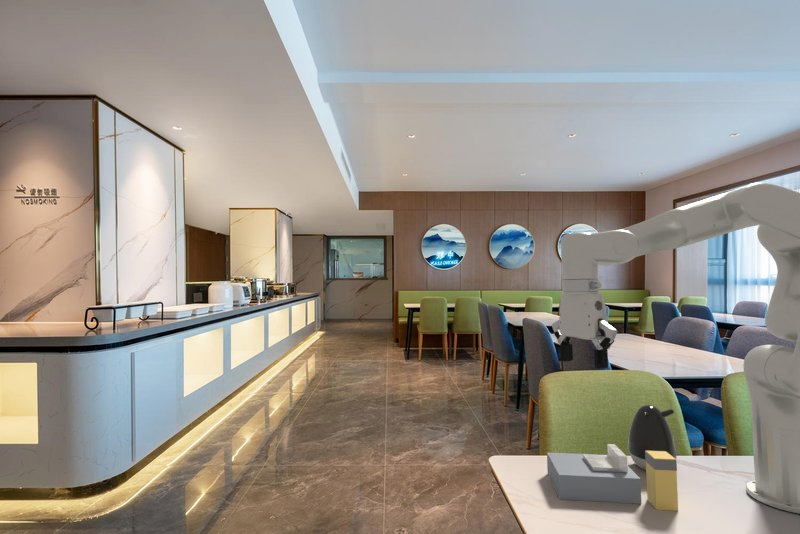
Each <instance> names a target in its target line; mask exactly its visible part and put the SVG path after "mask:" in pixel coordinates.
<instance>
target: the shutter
mask: <svg viewBox="0 0 800 534" xmlns="http://www.w3.org/2000/svg"><path fill="white" fill-rule="evenodd" d="M606 444H607V445H606V447H607V454H596V455H592V453H582V454H583V458H584V460H585V461H586V462H587V464H588V465H589V466H590V468H591V469H592V470H593V471H606V472H628V468H627V465H628V456H627V455H626V454H625V453H624V452H623V451H622V449H620V448H619V447H618V446H617V445H616V443H614V444H613V443H612V444H611V443H606Z"/></svg>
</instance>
